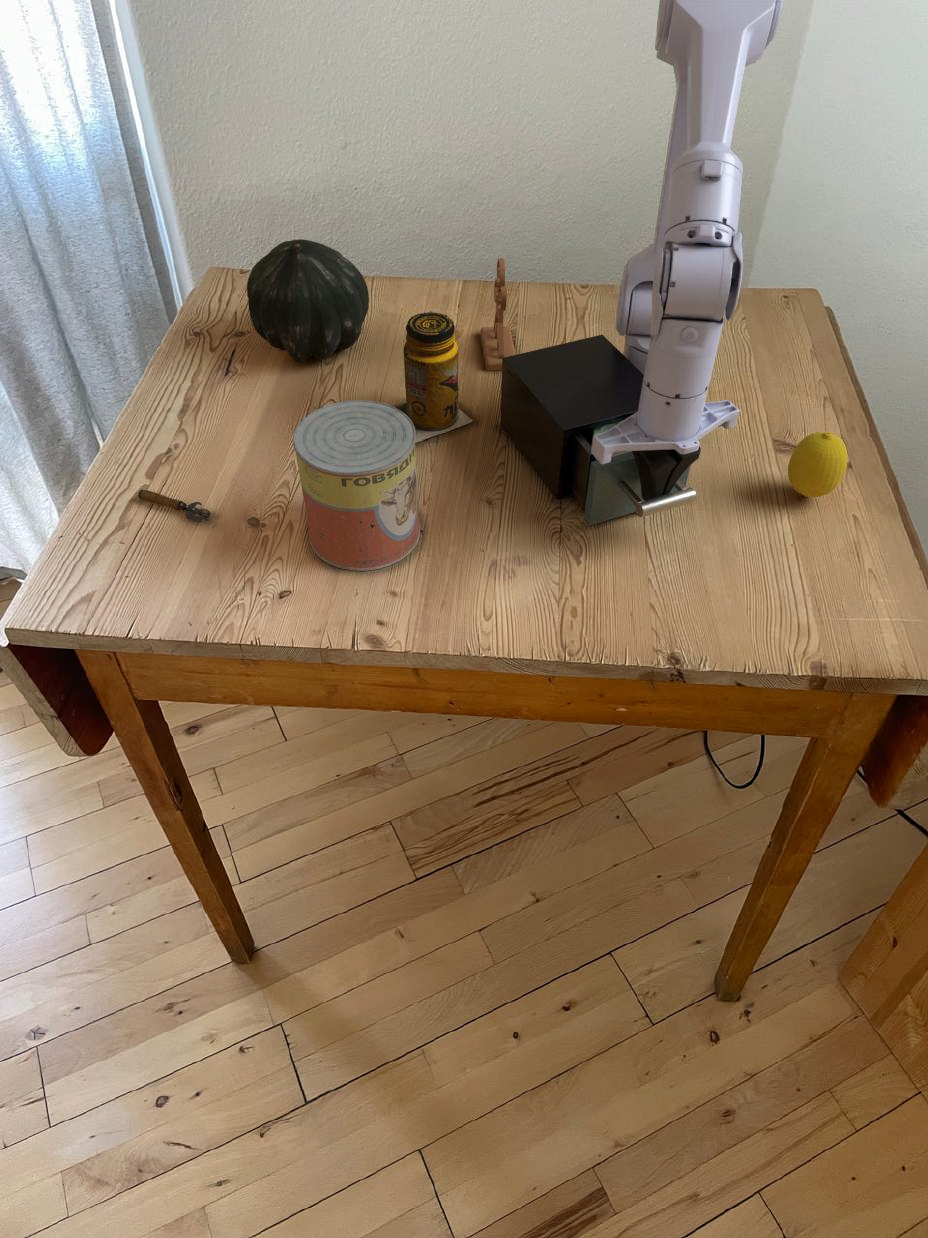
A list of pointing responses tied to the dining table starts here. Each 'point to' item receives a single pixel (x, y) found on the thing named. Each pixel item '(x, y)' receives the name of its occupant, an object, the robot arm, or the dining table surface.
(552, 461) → the cabinet
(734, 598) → the dining table surface
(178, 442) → the dining table surface
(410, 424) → the canned food
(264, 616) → the dining table surface
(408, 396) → the condiment
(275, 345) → the squash
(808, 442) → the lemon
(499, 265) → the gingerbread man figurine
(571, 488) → the drawer
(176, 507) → the can opener
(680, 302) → the robot arm
